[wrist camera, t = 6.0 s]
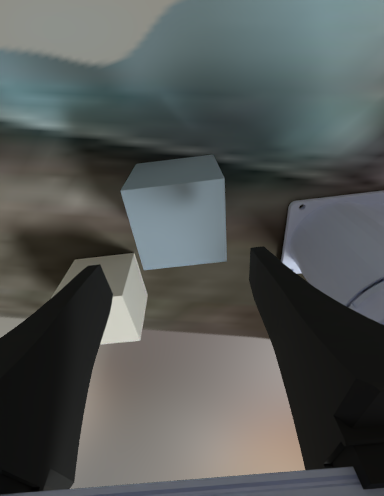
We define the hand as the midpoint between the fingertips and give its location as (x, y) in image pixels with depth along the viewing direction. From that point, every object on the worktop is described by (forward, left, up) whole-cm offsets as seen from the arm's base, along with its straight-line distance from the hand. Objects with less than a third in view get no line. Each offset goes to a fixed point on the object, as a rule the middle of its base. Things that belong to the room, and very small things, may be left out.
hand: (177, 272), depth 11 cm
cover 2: (0, 0, -9) cm, 9 cm away
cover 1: (+8, +8, -9) cm, 15 cm away
